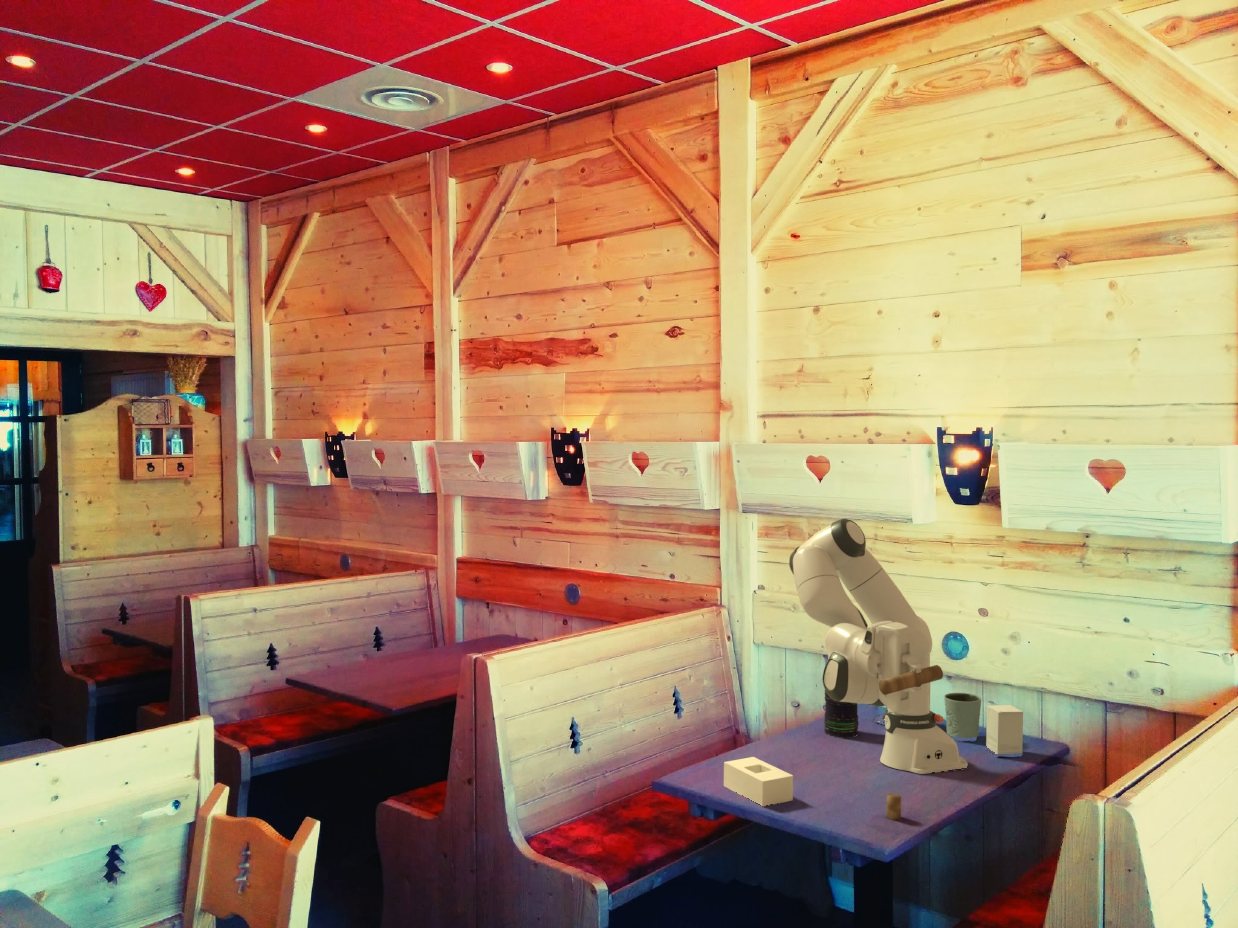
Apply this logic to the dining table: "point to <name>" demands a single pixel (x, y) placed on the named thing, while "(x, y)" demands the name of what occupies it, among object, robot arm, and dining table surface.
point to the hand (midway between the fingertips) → (919, 679)
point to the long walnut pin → (910, 680)
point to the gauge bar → (758, 781)
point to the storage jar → (840, 718)
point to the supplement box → (1004, 729)
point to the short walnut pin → (893, 807)
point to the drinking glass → (962, 714)
